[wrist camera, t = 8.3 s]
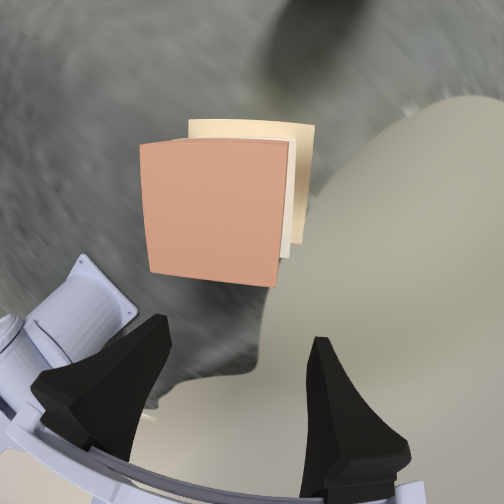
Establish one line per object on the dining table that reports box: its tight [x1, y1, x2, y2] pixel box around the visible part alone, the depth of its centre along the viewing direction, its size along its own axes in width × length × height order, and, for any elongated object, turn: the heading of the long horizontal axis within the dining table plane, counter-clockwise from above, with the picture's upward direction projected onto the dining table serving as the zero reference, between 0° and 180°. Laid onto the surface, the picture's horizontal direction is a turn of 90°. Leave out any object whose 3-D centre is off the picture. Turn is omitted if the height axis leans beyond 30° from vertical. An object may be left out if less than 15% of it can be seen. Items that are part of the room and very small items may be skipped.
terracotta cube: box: [140, 138, 289, 288], centre depth 10 cm, size 4×4×4 cm
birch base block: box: [188, 119, 315, 244], centre depth 16 cm, size 7×7×3 cm
